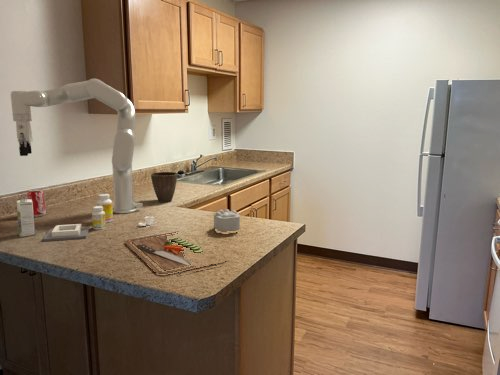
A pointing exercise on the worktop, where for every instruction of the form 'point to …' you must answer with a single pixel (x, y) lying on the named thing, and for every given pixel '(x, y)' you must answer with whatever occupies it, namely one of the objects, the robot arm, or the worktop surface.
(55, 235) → the frame
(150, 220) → the white looped piece
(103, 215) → the supplement bottle
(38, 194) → the soda can
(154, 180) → the plant pot
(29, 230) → the syrup box
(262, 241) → the worktop surface
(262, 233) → the worktop surface
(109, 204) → the supplement bottle
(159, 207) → the worktop surface
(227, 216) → the lumpy-topped squat cylinder
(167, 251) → the chopping board
